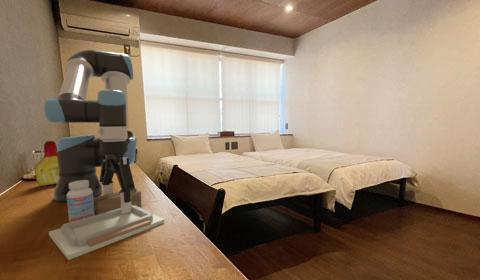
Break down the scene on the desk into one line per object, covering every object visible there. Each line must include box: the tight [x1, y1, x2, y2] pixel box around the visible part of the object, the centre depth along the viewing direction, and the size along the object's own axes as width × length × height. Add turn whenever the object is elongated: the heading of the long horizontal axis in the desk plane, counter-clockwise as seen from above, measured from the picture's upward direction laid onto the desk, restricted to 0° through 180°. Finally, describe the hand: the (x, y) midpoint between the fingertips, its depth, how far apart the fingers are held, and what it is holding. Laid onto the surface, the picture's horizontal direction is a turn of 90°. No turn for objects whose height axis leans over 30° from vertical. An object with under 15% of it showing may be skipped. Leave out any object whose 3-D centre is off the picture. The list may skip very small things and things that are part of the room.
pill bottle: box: [66, 180, 95, 223], centre depth 63 cm, size 6×6×11 cm
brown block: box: [93, 187, 142, 215], centre depth 72 cm, size 5×13×6 cm, turn 140°
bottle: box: [34, 140, 59, 187], centre depth 102 cm, size 12×6×20 cm, turn 138°
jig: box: [48, 205, 165, 261], centre depth 59 cm, size 16×22×2 cm
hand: (117, 208), depth 71 cm, fingers open, 12 cm apart
